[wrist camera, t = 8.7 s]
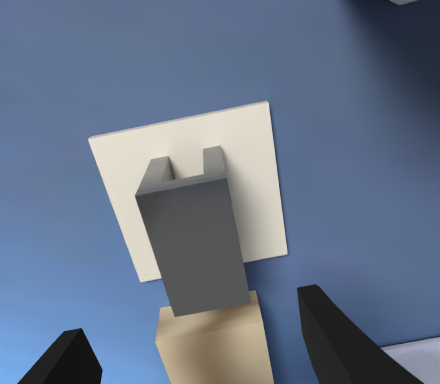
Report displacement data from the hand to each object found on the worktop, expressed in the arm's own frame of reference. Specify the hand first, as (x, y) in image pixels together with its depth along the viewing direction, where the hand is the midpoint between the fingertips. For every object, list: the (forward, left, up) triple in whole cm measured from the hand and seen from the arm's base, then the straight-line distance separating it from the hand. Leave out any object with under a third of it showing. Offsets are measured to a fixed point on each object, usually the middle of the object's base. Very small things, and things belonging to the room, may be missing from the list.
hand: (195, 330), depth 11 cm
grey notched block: (0, 0, -10) cm, 10 cm away
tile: (0, 0, -10) cm, 10 cm away
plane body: (+1, +15, -10) cm, 18 cm away
